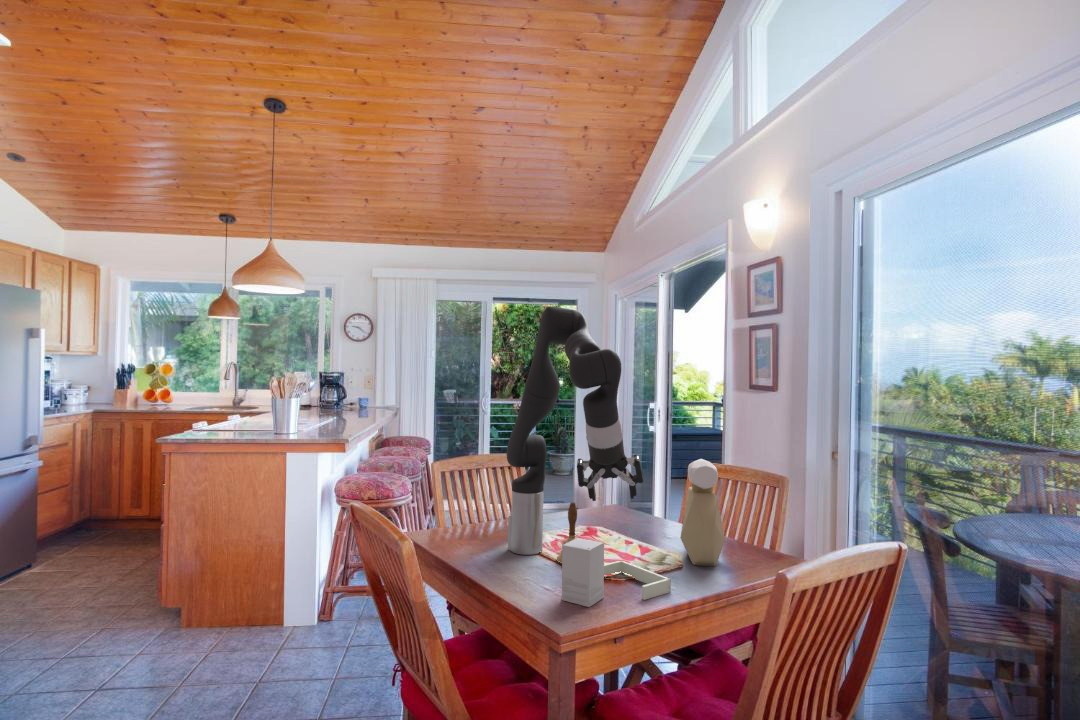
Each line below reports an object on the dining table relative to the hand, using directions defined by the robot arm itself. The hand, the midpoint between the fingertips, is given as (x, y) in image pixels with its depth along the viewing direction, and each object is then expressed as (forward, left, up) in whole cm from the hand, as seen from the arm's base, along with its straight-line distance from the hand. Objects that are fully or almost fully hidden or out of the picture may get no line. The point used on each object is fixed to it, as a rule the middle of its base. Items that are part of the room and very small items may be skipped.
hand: (613, 497), depth 131 cm
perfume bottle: (+7, +43, -24) cm, 50 cm away
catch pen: (-1, +13, -24) cm, 27 cm away
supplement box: (-6, -2, -24) cm, 25 cm away
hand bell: (-22, +20, -24) cm, 38 cm away
